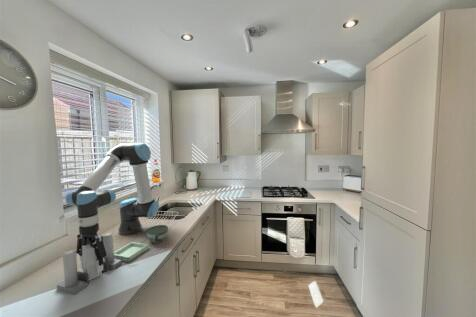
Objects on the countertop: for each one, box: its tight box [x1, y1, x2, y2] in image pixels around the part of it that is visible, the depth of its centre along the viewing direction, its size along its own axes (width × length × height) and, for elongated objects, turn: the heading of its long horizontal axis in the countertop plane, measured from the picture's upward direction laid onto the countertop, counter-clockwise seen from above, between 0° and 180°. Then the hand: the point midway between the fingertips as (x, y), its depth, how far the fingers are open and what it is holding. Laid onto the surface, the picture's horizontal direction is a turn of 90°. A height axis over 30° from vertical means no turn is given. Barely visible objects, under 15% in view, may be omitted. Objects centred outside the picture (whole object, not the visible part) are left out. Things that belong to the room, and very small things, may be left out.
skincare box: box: [82, 242, 102, 281], centre depth 97 cm, size 8×6×15 cm
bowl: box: [145, 224, 169, 244], centre depth 131 cm, size 14×13×8 cm
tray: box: [114, 241, 149, 263], centre depth 116 cm, size 13×15×2 cm
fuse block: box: [56, 232, 123, 295], centre depth 97 cm, size 11×23×16 cm, turn 162°
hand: (92, 269), depth 97 cm, fingers closed on skincare box, 10 cm apart
